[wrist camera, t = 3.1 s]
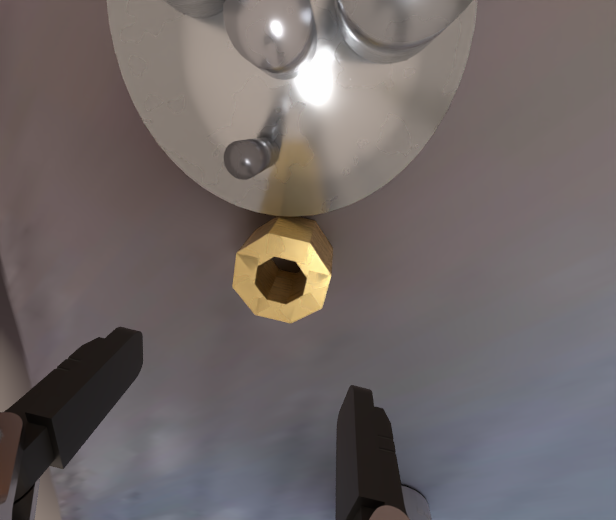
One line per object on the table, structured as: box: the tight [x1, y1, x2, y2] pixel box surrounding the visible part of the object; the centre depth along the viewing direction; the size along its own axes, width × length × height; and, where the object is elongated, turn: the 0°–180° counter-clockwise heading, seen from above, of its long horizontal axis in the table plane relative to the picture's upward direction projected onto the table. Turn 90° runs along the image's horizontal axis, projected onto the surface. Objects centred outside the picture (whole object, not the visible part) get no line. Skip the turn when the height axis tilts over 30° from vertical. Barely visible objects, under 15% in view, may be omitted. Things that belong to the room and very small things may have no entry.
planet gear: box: [233, 216, 333, 323], centre depth 21 cm, size 6×6×4 cm
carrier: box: [107, 0, 478, 217], centre depth 14 cm, size 20×20×6 cm
